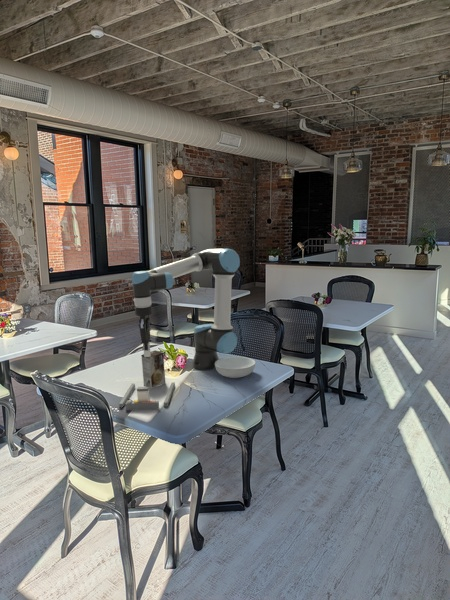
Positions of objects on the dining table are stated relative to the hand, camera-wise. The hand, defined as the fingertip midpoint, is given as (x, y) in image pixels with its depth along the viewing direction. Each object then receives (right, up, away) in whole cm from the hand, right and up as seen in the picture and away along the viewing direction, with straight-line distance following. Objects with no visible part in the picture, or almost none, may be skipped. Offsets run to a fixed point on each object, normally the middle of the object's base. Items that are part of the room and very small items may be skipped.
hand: (147, 356), depth 201 cm
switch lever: (0, -20, -9) cm, 22 cm away
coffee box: (+1, -16, +16) cm, 23 cm away
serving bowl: (+41, -13, +26) cm, 50 cm away
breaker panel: (0, -19, 0) cm, 19 cm away
